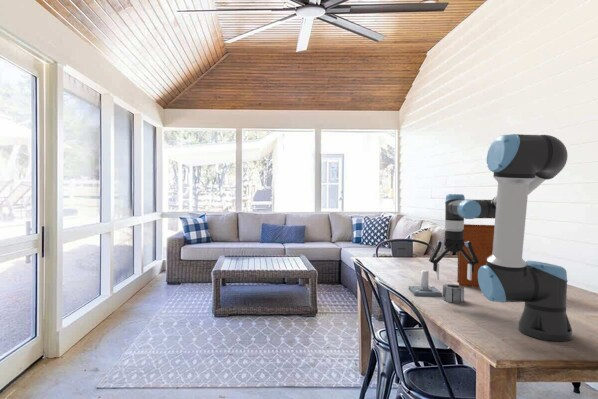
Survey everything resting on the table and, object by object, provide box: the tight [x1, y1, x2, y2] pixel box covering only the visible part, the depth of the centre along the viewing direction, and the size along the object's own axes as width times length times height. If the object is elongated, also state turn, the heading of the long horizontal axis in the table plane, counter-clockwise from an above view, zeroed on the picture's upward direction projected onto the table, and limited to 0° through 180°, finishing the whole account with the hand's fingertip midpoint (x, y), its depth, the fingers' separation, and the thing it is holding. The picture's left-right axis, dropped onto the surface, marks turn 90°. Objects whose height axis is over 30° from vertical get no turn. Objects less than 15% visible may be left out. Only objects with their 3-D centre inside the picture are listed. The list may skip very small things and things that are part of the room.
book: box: [456, 223, 495, 288], centre depth 195 cm, size 23×8×30 cm, turn 73°
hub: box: [442, 283, 465, 304], centre depth 168 cm, size 8×8×6 cm
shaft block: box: [408, 269, 443, 297], centre depth 181 cm, size 12×12×10 cm
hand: (453, 279), depth 168 cm, fingers open, 13 cm apart
